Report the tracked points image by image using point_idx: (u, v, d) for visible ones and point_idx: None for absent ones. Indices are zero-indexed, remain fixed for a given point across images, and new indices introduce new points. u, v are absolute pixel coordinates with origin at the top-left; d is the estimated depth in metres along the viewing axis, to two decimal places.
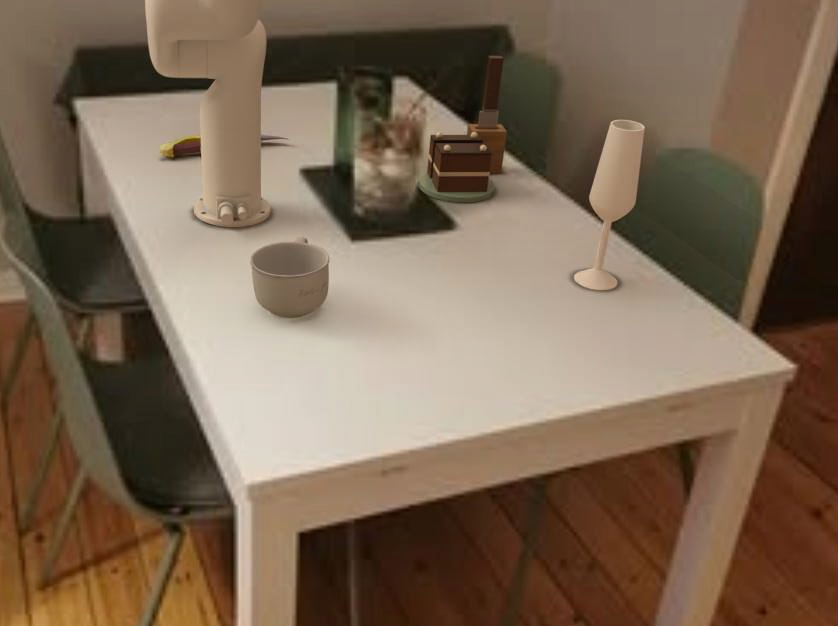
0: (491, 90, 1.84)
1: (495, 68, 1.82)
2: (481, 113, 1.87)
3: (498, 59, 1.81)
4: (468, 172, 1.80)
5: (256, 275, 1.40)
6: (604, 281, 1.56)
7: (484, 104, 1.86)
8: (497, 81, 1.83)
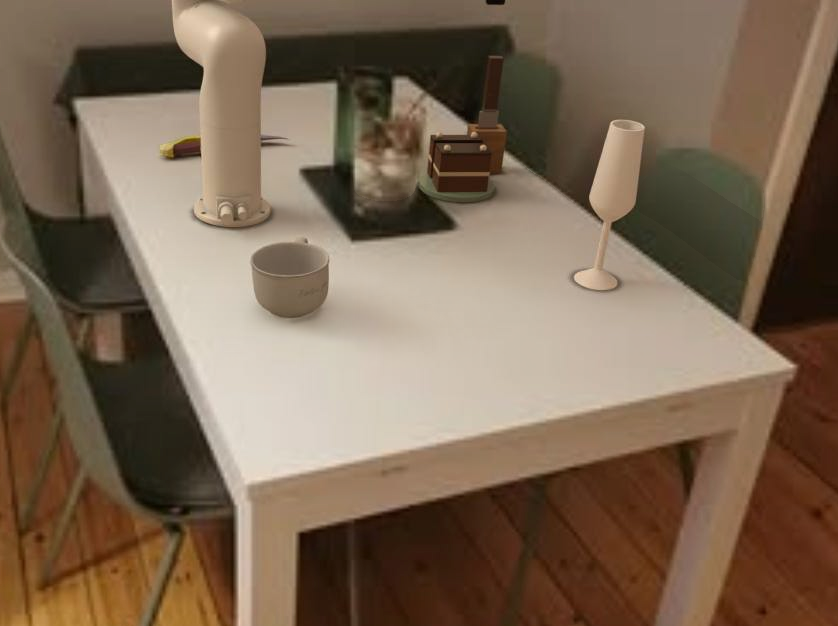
0: (491, 90, 1.84)
1: (495, 68, 1.82)
2: (481, 113, 1.87)
3: (498, 59, 1.81)
4: (468, 172, 1.80)
5: (256, 275, 1.40)
6: (604, 281, 1.56)
7: (484, 104, 1.86)
8: (497, 81, 1.83)
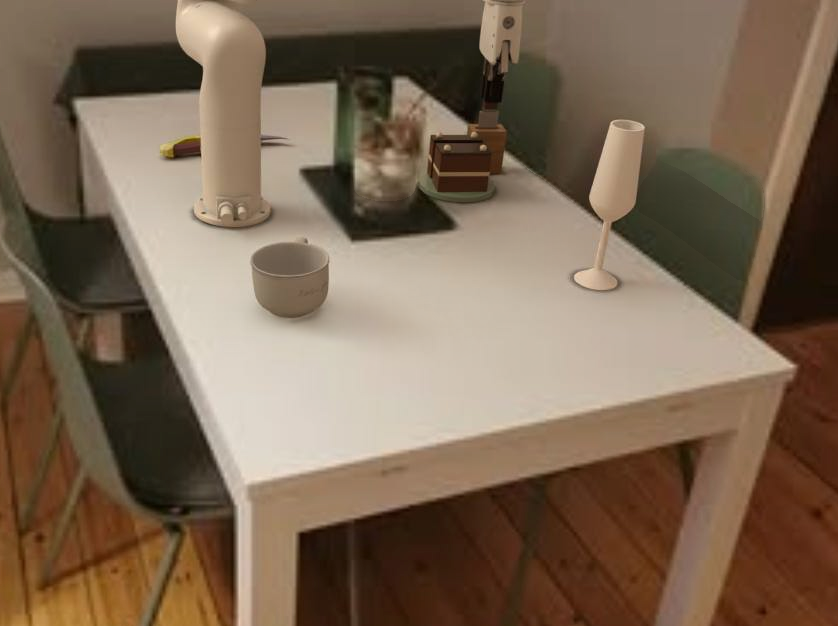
0: None
1: None
2: (481, 113, 1.87)
3: None
4: (468, 172, 1.80)
5: (256, 275, 1.40)
6: (604, 281, 1.56)
7: (484, 104, 1.86)
8: None
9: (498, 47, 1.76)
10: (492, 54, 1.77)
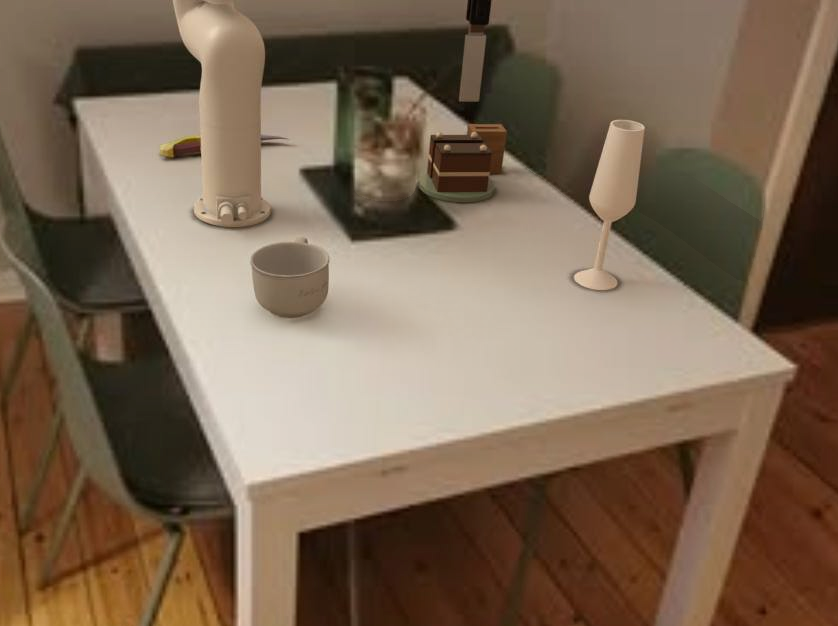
0: None
1: None
2: (467, 37, 1.72)
3: None
4: (468, 172, 1.80)
5: (256, 275, 1.40)
6: (604, 281, 1.56)
7: (470, 27, 1.71)
8: None
9: None
10: None
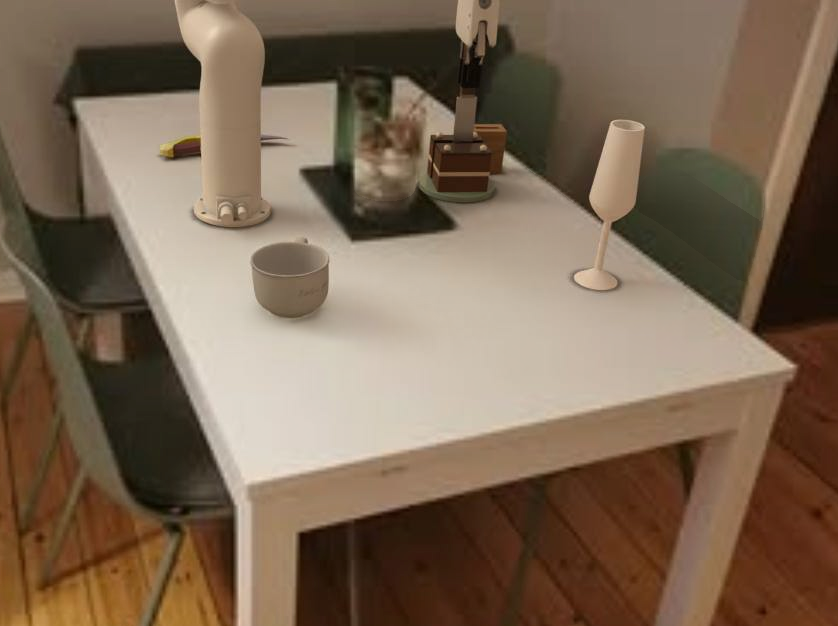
0: None
1: None
2: (458, 99, 1.77)
3: None
4: (468, 172, 1.80)
5: (256, 275, 1.40)
6: (604, 281, 1.56)
7: (461, 89, 1.76)
8: None
9: (474, 28, 1.66)
10: (468, 36, 1.67)
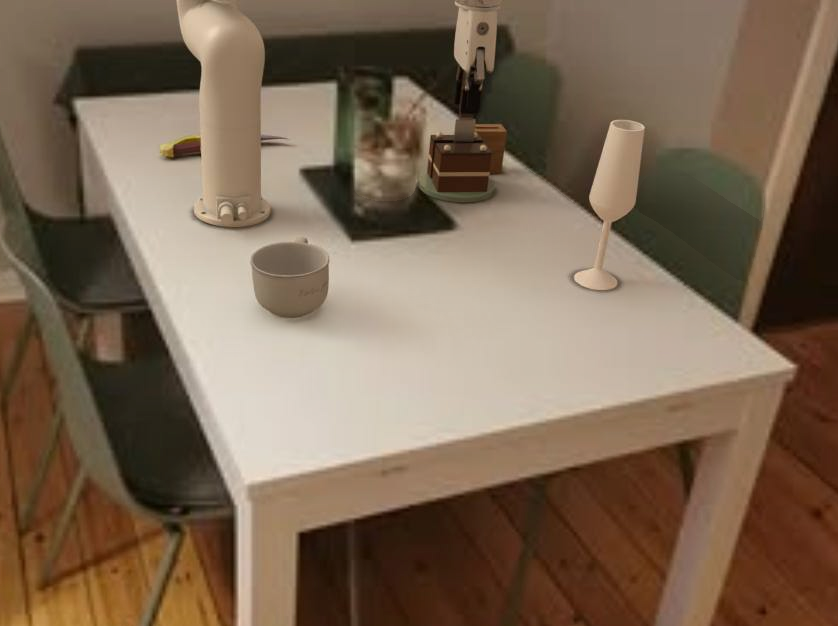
0: None
1: (472, 75, 1.75)
2: (457, 121, 1.79)
3: None
4: (468, 172, 1.80)
5: (256, 275, 1.40)
6: (604, 281, 1.56)
7: (460, 112, 1.78)
8: None
9: (472, 54, 1.68)
10: (466, 61, 1.69)
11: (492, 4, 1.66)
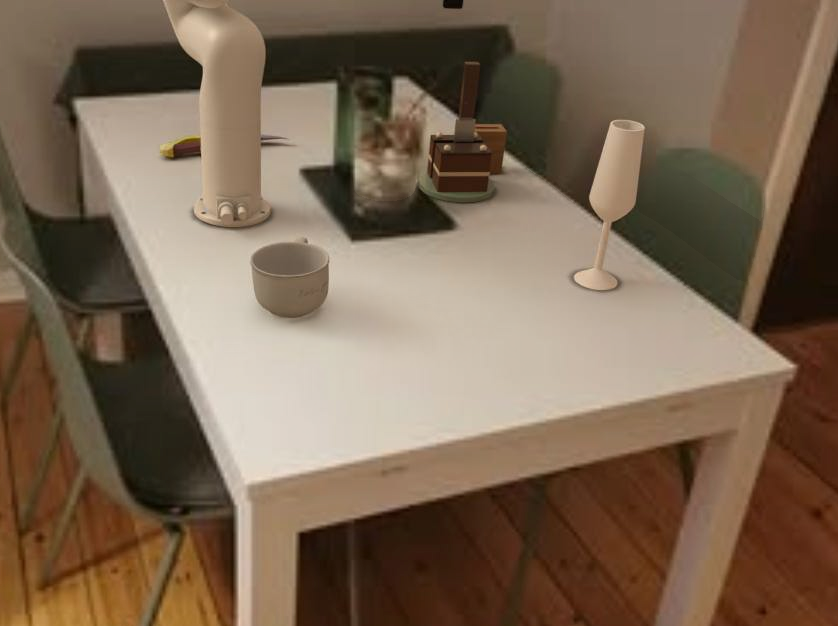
0: (467, 97, 1.77)
1: (472, 75, 1.75)
2: (457, 121, 1.79)
3: (474, 65, 1.74)
4: (468, 172, 1.80)
5: (256, 275, 1.40)
6: (604, 281, 1.56)
7: (460, 112, 1.78)
8: (474, 88, 1.76)
9: None
10: None
11: None
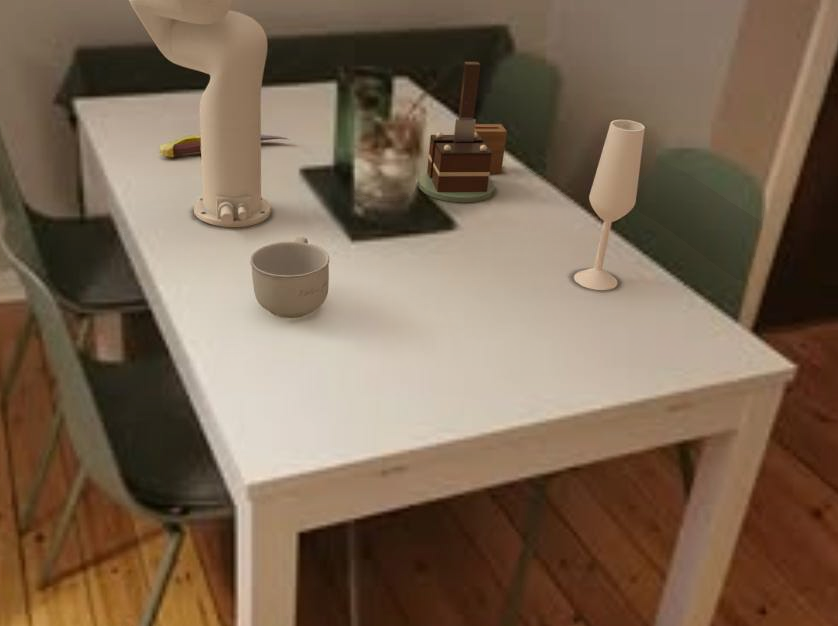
0: (467, 97, 1.77)
1: (472, 75, 1.75)
2: (457, 121, 1.79)
3: (474, 65, 1.74)
4: (468, 172, 1.80)
5: (256, 275, 1.40)
6: (604, 281, 1.56)
7: (460, 112, 1.78)
8: (474, 88, 1.76)
9: None
10: None
11: None
